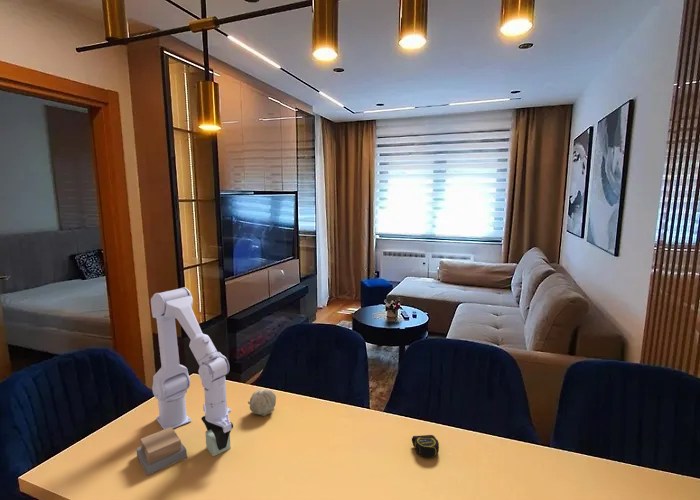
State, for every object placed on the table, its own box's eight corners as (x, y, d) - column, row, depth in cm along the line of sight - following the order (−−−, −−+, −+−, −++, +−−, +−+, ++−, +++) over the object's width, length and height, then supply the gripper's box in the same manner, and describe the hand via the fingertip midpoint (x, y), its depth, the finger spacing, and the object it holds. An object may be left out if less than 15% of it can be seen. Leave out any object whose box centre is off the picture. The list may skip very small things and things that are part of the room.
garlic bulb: (275, 417, 126) (284, 392, 124) (260, 426, 118) (269, 400, 117) (256, 402, 129) (264, 378, 128) (240, 411, 122) (249, 385, 121)
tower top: (141, 448, 103) (140, 438, 102) (171, 436, 108) (171, 426, 108) (149, 463, 97) (148, 453, 96) (181, 449, 102) (180, 439, 102)
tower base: (137, 458, 103) (136, 448, 103) (174, 442, 110) (174, 432, 110) (147, 477, 96) (146, 467, 96) (187, 459, 103) (186, 449, 102)
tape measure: (434, 443, 109) (434, 432, 108) (441, 460, 102) (442, 447, 101) (411, 445, 108) (411, 433, 108) (417, 461, 101) (417, 449, 101)
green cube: (206, 447, 107) (205, 431, 106) (223, 440, 110) (222, 424, 109) (213, 456, 103) (212, 440, 102) (230, 448, 106) (229, 432, 106)
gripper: (240, 404, 102) (243, 449, 104) (218, 385, 112) (220, 426, 114) (215, 414, 97) (218, 461, 99) (195, 393, 108) (197, 436, 110)
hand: (218, 443), depth 106 cm, fingers closed on green cube, 5 cm apart
